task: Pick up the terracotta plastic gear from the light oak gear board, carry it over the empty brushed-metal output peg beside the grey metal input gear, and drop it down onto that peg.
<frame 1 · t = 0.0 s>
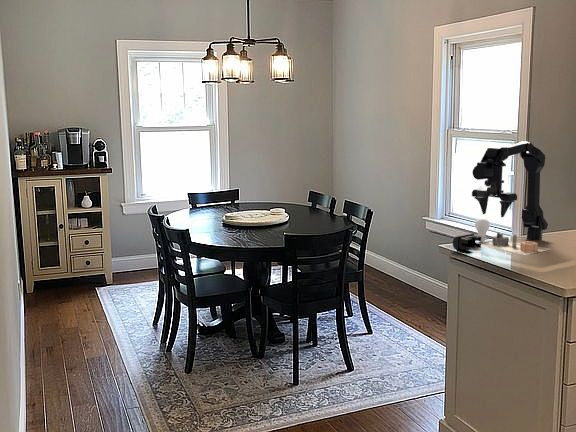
hand: (493, 215, 263), 15 cm above the table, fingers open, 9 cm apart
lightbulb: (481, 242, 282), on the table
loose gear: (528, 250, 259), point 1 cm above the table, touching gear board
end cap: (466, 251, 266), on the table
gear board: (513, 250, 266), on the table
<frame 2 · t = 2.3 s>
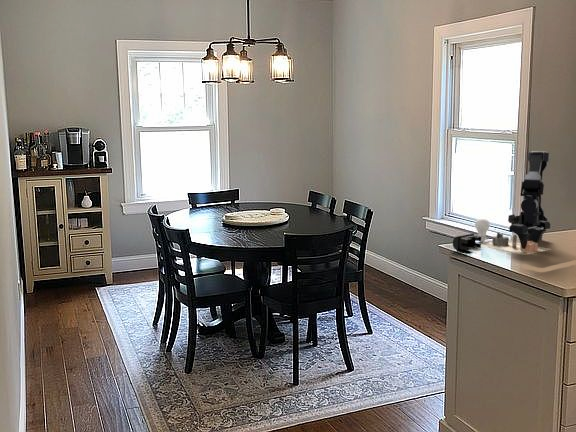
hand: (528, 247, 259), 3 cm above the table, fingers closed on loose gear, 6 cm apart
loose gear: (528, 250, 259), point 1 cm above the table, touching gear board, gripper
everything else where it was.
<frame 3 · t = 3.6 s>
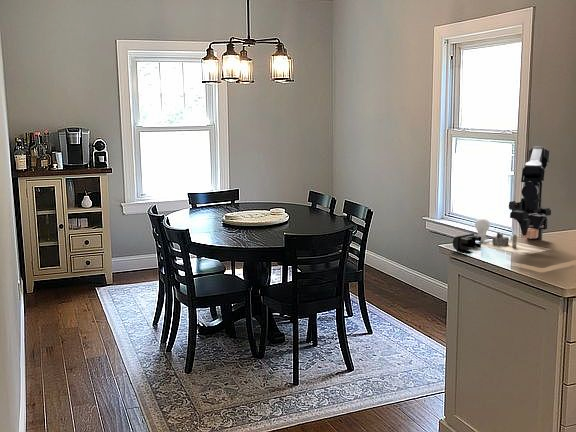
hand: (529, 234, 258), 8 cm above the table, fingers closed on loose gear, 6 cm apart
loose gear: (529, 236, 258), point 7 cm above the table, touching gripper
everything else where it was.
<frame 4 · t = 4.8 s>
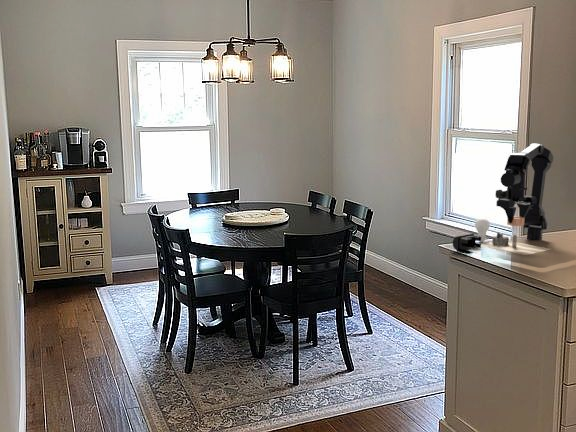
hand: (515, 222, 263), 12 cm above the table, fingers closed on loose gear, 6 cm apart
loose gear: (515, 224, 263), point 11 cm above the table, touching gripper
everything else where it was.
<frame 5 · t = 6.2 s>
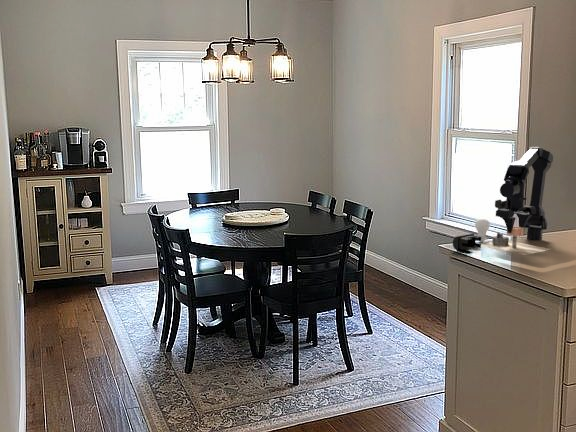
hand: (515, 232, 264), 8 cm above the table, fingers closed on loose gear, 6 cm apart
loose gear: (514, 234, 264), point 7 cm above the table, touching gripper
everything else where it was.
when the fingers open (5 cm above the table, at t = 7.4 s): loose gear drops 2 cm, resting on gear board.
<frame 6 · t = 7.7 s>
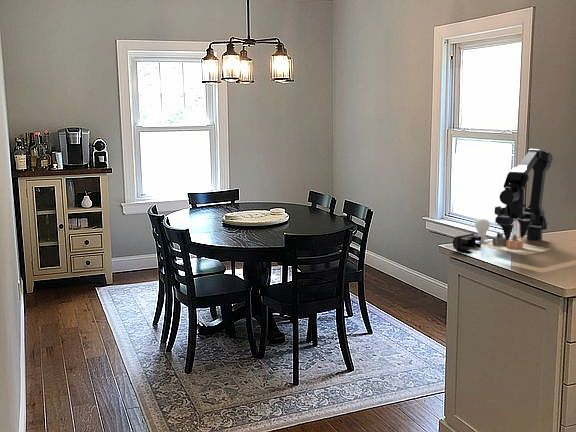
hand: (514, 238, 264), 5 cm above the table, fingers open, 9 cm apart
loose gear: (514, 247, 265), point 1 cm above the table, touching gear board
everything else where it was.
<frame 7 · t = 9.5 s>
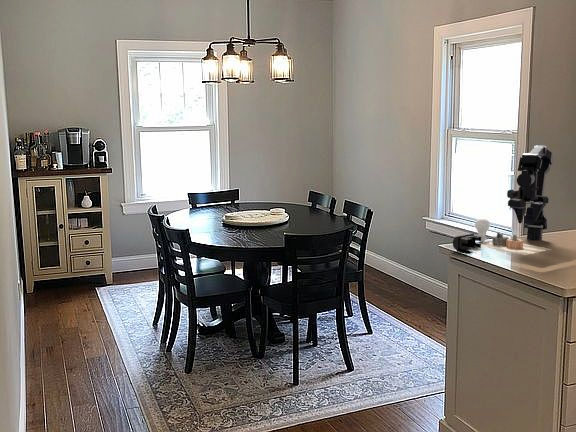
hand: (527, 221, 265), 12 cm above the table, fingers open, 9 cm apart
nothing on the table moved.
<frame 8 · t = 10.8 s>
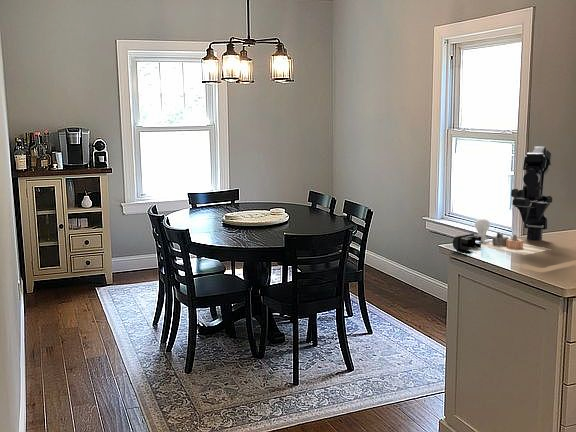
hand: (531, 221, 265), 12 cm above the table, fingers open, 9 cm apart
nothing on the table moved.
at the end: loose gear 0.1 cm off-centre on the gear board, point 1.5 cm above the gear board's base; loose gear tilted 0°; the gripper is holding nothing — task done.
